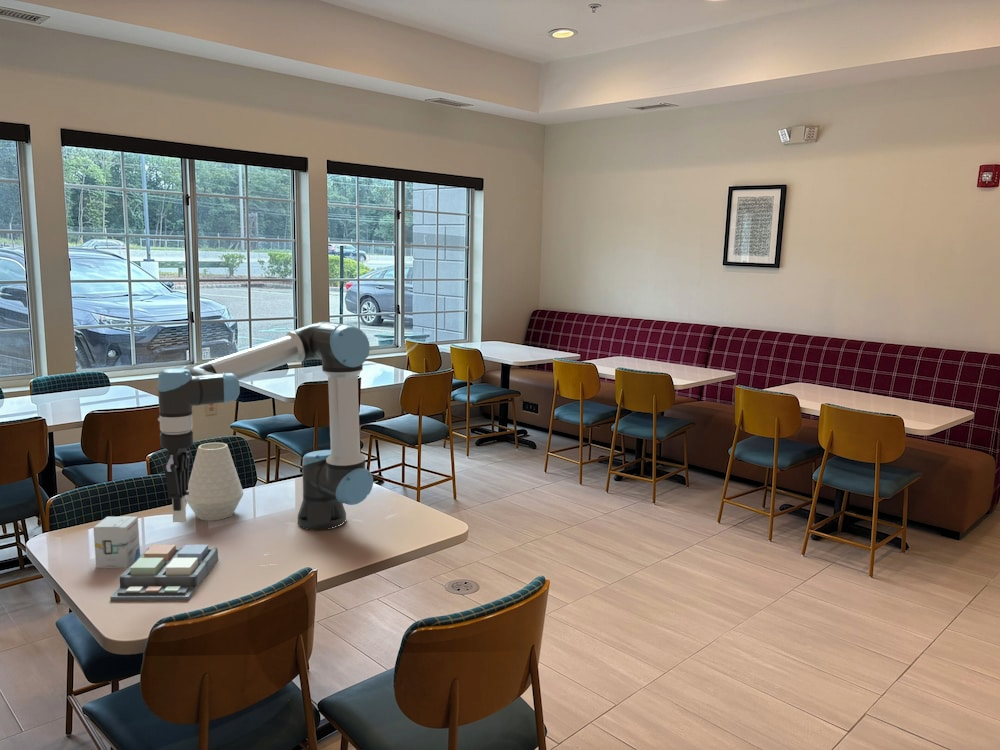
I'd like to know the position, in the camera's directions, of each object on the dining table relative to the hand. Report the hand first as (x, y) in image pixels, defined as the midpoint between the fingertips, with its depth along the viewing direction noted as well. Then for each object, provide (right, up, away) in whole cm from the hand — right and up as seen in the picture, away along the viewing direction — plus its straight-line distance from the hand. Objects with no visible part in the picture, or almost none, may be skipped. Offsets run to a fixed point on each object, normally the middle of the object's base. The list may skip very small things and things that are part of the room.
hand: (179, 521), depth 185 cm
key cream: (0, -14, +2) cm, 14 cm away
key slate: (-1, -12, +11) cm, 16 cm away
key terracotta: (-10, -12, +10) cm, 18 cm away
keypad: (-5, -16, +4) cm, 17 cm away
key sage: (-9, -13, +2) cm, 16 cm away
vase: (-11, -8, +50) cm, 52 cm away
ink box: (-23, -14, +14) cm, 30 cm away
